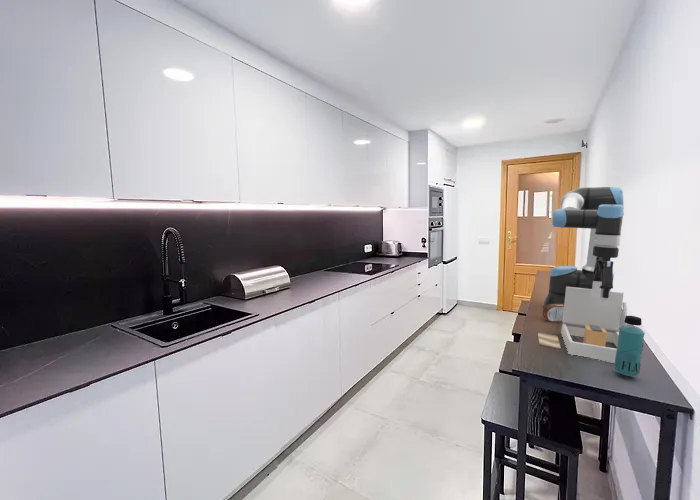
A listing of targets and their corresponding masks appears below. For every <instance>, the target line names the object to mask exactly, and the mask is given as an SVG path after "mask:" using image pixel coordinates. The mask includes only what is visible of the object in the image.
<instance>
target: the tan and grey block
mask: <svg viewBox="0 0 700 500" xmlns="http://www.w3.org/2000/svg"><path fill="white" fill-rule="evenodd" d="M606 337H607V332H606V330H605V329H604V328H600V327H599V326H594V325H590V326H585V332H584V338H583V340H582V341H583V342H582V343H585V344H591V345H597V346H603V347H606V344H607V342H606Z"/></svg>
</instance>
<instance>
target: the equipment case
mask: <svg viewBox="0 0 700 500" xmlns="http://www.w3.org/2000/svg"><path fill="white" fill-rule="evenodd" d="M591 294H592V289H585V288H575V287H566V294H565V303H564V312H563V321H562V322H561V333H560V335H561V334H562V335H561V337H563V338H562V340H564V341H563V343H564V342H565V343H564V346H565V345H566V346H565V349H566V348H567V349H566V352H567V351H568V352H567V354H571V355H570V356H573V355H578V356H584V357H590V358H594V359H599V360H598V361H600V360H602V361H601V362H605V361H606V362H607V363H610V364H611V363H612V364H615V358H616V356H615V355H616V351H617V344H618V336H619V328H620V323H621V316H622V319H623V320H622V321H623V326H624V325H629V324H627V323H625V322H624V320H625V317H626V316H628V309H627V308H628V307H627V306H628V305H627V302H623V301H624V299H623V298H624V292H621V291H611V290H610V298H609V306H608V307H605V306H599V299H600V298H595V297H591ZM590 325H594V326H599V327H600V328H604V329H605V330H606V332H607V337H606V343H610V344H613V345H615V347H616V348H614V347H609V346H605V347H603V346H597V345H591V344H585V343H583V342H580V341H579V342H578V341H573V338H572V336H570V335H575V336H580V337H584V332H585V326H590ZM578 356H577V357H578ZM594 359H593V360H594Z"/></svg>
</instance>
